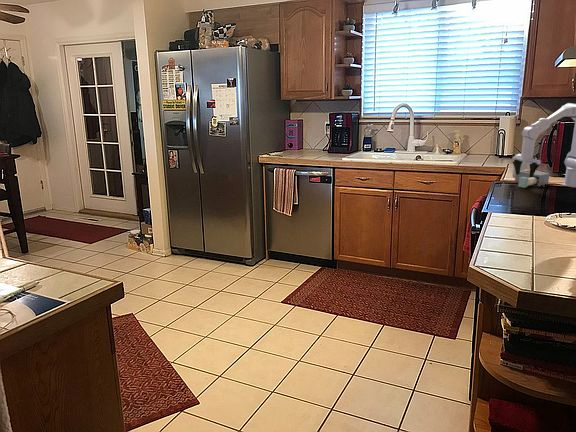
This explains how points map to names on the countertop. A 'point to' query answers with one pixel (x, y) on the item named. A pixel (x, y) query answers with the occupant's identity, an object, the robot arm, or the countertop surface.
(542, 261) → the countertop surface
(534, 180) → the cartridge
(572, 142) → the robot arm
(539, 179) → the housing
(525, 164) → the supplement box
